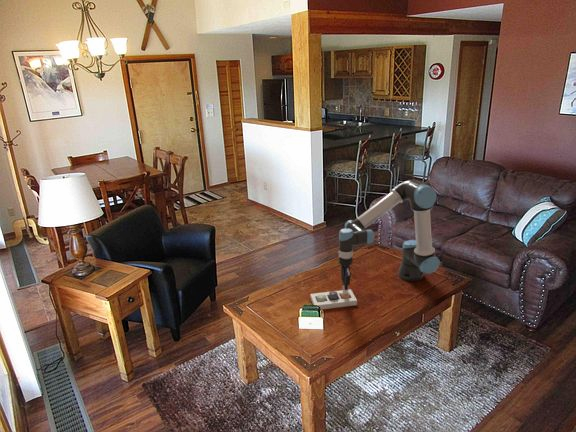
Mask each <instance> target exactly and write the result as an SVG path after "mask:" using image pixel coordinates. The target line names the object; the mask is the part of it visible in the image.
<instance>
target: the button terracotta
mask: <svg viewBox="0 0 576 432" xmlns="http://www.w3.org/2000/svg"><path fill="white" fill-rule="evenodd" d="M347 298H350V294H349V293H348V294H345V295H343V292H342V293H341V299H347Z"/></svg>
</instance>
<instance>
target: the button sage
mask: <svg viewBox="0 0 576 432" xmlns="http://www.w3.org/2000/svg"><path fill="white" fill-rule="evenodd" d="M323 301H326V297H325V296H324V295H318V296H317V302H323Z"/></svg>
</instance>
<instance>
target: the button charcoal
mask: <svg viewBox="0 0 576 432" xmlns="http://www.w3.org/2000/svg"><path fill="white" fill-rule="evenodd" d="M335 291H336V290H333V291H328V292H329V301H331V300H338V293H337V292H335Z"/></svg>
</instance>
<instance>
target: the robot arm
mask: <svg viewBox="0 0 576 432" xmlns="http://www.w3.org/2000/svg"><path fill="white" fill-rule="evenodd" d="M405 201H409V205H410V210H412V211H413V218H414V219H413V220H414V231H415V239H409V240H405V241H403V243H402V253H401V254H402V255H401V264H400V266H399V268H398V272H397V275H398V277H399V278H401V279H402V280H405V281H408V282H417V281H420V280H422V279H423V278H424V274H428V275H429V274H432V273H434V272H436V271H437V270H438V268H439V267H440V263H441V261H440V259H439V257H437V256H436V248H435V247H434V246H433V240H432V237H433V236H432V221H431V211H432V209H433V207H434V206H435V205H434V204H435V203H436V202H437V193H436V191H435V189H434V188H432V186H430V185H428V184H425V183H423V182H421V181H419V180H416V179H408V180H405V181H402V182H401V183H399V184H397V185H396V186H394V187H393V188H391V190H390V192H389V193H388V194H386V195H385V196H384V197H383V198H381V199H380V200H379V201H378V202H376V203H375V204H373V205H372V206H371V207H369V208H368V209H367V210H366V211H364V212H363V213H362V214H360V215H359V216H358V217H356V218H355V219H354V220H353V219H349V220H347V221H346V222H345V223H344V228H341V229H340V230H339V233H338V253H337V254H338V264H339V265H340V276H341V281H342V290H343V295H345V294H348V290H349V286H350V283H351V275H352V272H351V265H352V264H353V259H354V257H353V256H354V247H356V246H361V245H362V246H363V245H369V244H373V243H374V242H375V237H376V236H375V233H374V231H373V230H372V229H366V228H367V227H369V226H371V225H372V224H373V223H374V222H376V221H377V220H378V219H380V218H381V217H382V216H383V215H385V214H386V213H388V211H390V210H392V209H393V208H395V206H397V205H398V204H400V203H401V204H402V203H403V202H405Z"/></svg>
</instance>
